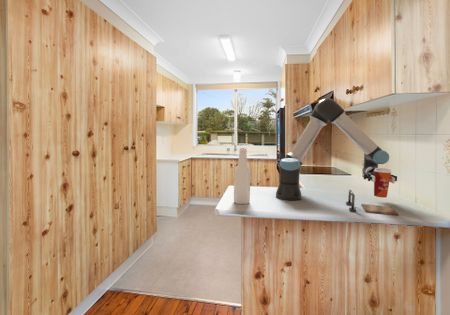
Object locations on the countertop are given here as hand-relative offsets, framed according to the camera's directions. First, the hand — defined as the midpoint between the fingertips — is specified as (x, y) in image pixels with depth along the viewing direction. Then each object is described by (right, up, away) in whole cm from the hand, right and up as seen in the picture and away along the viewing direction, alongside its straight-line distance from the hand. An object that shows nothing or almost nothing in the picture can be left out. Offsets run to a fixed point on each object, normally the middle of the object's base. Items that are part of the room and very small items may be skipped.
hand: (384, 180), depth 123 cm
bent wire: (-11, -15, +10) cm, 22 cm away
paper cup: (+1, -9, +5) cm, 10 cm away
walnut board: (+1, -16, +6) cm, 17 cm away
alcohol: (-69, -14, +16) cm, 72 cm away
